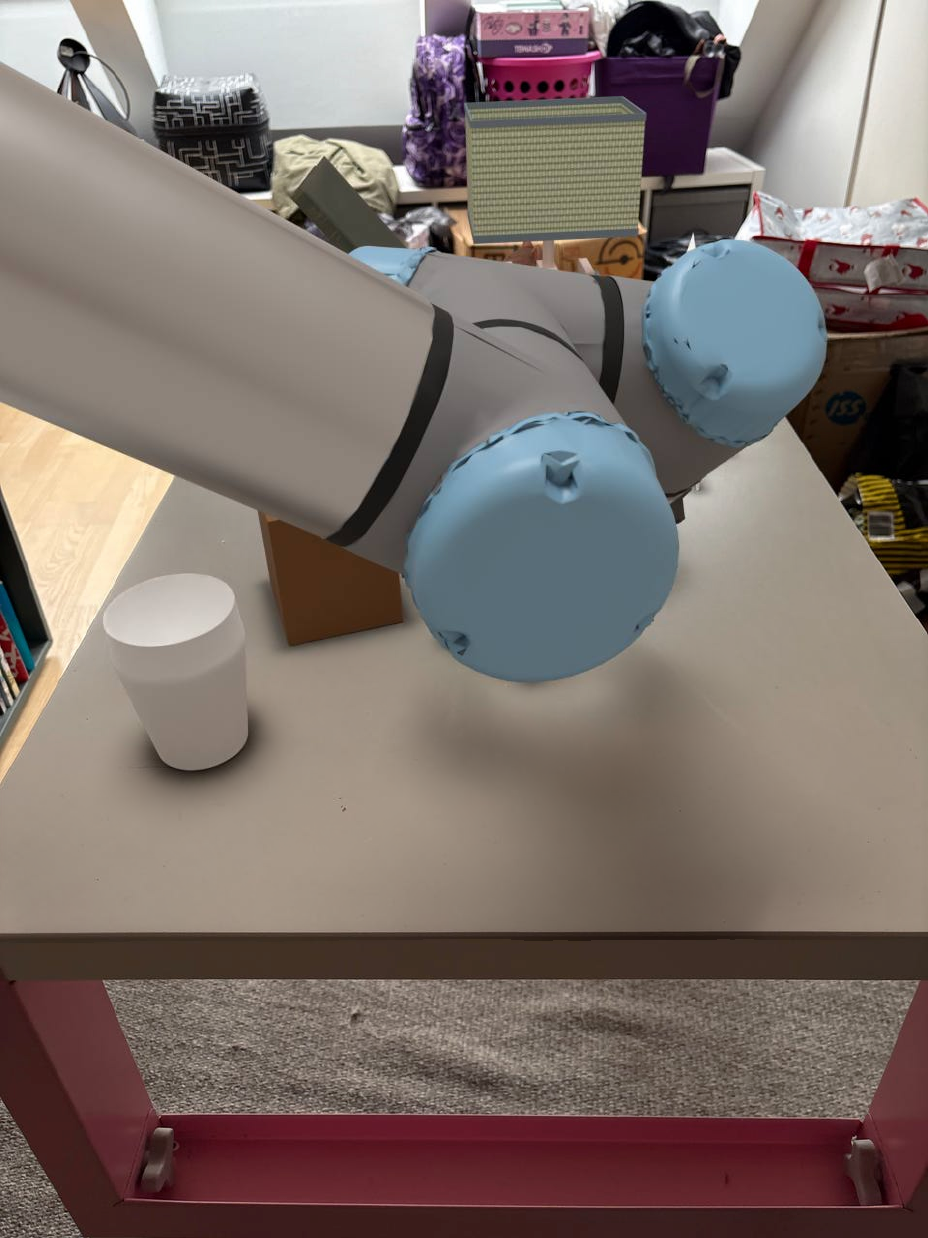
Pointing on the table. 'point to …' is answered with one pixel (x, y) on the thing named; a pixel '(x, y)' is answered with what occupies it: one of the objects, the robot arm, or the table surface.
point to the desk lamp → (554, 171)
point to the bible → (341, 211)
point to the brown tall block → (325, 585)
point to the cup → (183, 666)
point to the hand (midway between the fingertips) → (514, 560)
